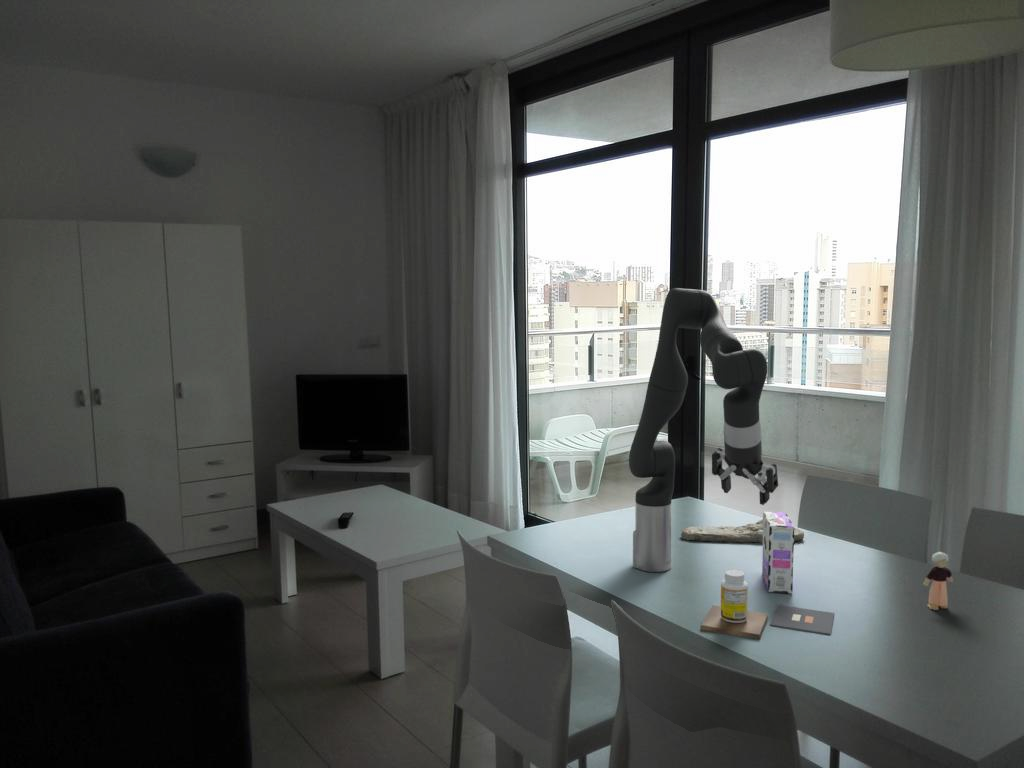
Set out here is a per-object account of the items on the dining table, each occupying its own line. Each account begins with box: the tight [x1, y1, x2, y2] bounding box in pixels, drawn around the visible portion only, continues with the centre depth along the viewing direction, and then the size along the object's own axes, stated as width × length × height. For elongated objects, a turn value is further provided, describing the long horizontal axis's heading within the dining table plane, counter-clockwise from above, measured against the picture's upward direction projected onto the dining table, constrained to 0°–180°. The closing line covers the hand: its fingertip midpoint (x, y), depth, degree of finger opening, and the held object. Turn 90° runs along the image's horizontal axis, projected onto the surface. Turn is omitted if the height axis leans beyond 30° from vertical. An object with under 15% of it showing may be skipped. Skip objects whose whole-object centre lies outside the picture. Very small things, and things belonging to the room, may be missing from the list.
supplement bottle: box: [720, 569, 749, 623], centre depth 170 cm, size 6×6×10 cm
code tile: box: [769, 604, 835, 636], centre depth 172 cm, size 12×12×1 cm
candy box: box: [761, 511, 795, 594], centre depth 193 cm, size 14×6×16 cm, turn 168°
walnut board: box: [700, 605, 769, 640], centre depth 170 cm, size 12×12×1 cm
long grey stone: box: [680, 519, 805, 544], centre depth 231 cm, size 35×5×10 cm
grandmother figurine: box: [922, 551, 954, 611], centre depth 178 cm, size 8×4×13 cm, turn 117°
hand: (745, 496), depth 174 cm, fingers open, 8 cm apart
